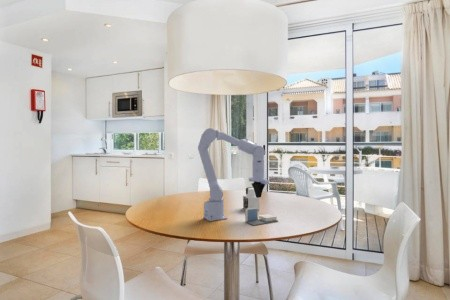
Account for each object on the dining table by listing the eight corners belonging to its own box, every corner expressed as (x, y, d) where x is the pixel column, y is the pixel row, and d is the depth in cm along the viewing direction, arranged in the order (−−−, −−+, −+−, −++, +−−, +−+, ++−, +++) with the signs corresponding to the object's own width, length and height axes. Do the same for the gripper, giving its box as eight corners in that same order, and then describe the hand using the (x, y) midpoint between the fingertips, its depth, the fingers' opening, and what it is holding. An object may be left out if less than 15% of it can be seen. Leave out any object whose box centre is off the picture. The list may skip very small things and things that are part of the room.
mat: (253, 225, 126) (253, 225, 126) (245, 222, 132) (245, 221, 132) (278, 221, 133) (278, 220, 133) (269, 218, 139) (269, 217, 139)
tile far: (258, 218, 137) (266, 221, 131) (258, 215, 137) (266, 218, 131) (268, 217, 139) (276, 220, 134) (268, 213, 139) (276, 216, 134)
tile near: (247, 222, 133) (247, 209, 132) (245, 221, 134) (245, 208, 134) (257, 220, 135) (257, 207, 135) (255, 219, 137) (255, 207, 137)
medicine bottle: (243, 208, 162) (242, 187, 162) (254, 207, 164) (254, 186, 164) (247, 210, 155) (247, 188, 155) (259, 209, 158) (259, 188, 157)
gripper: (273, 170, 137) (274, 198, 137) (256, 168, 149) (256, 194, 150) (261, 171, 133) (262, 200, 134) (245, 169, 146) (245, 195, 146)
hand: (258, 197), depth 141 cm, fingers closed
